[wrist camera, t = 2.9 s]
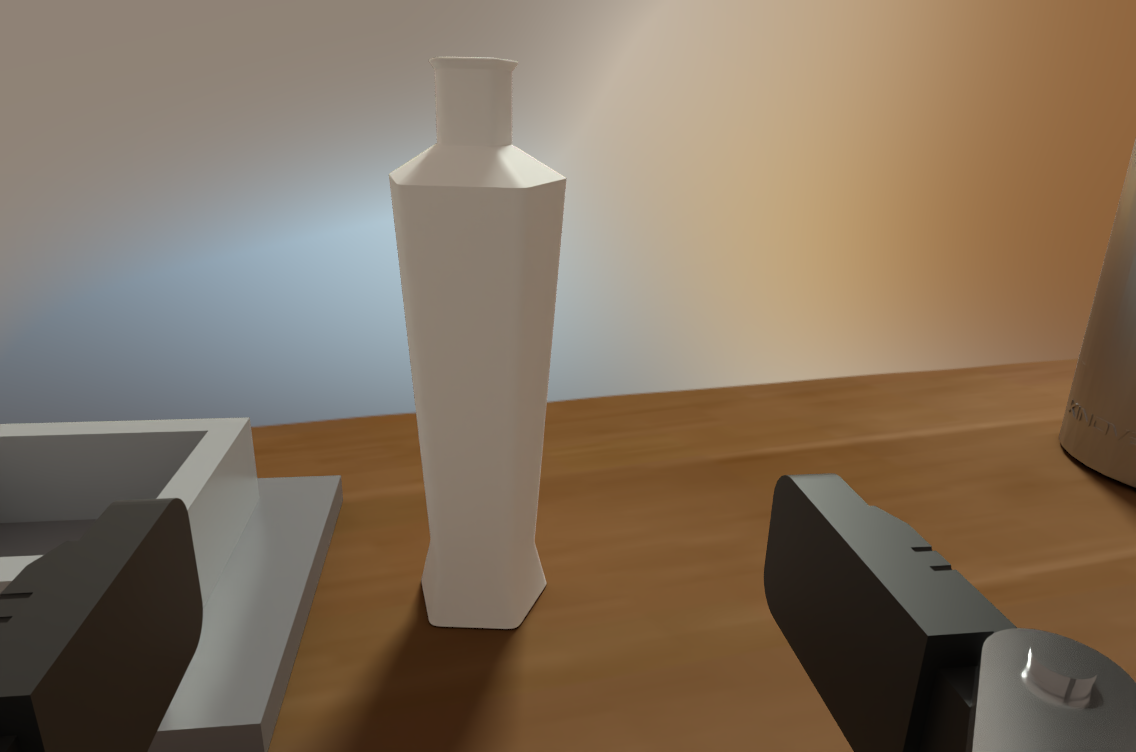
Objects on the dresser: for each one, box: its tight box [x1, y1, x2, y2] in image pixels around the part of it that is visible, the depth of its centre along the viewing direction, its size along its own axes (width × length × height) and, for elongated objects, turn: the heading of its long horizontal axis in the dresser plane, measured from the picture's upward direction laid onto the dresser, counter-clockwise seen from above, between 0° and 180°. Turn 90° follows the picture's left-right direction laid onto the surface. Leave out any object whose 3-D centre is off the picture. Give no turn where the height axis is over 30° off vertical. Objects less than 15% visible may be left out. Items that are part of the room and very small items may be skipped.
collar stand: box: [0, 418, 343, 752], centre depth 21 cm, size 14×12×4 cm
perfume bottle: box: [389, 57, 566, 629], centre depth 21 cm, size 5×4×15 cm
